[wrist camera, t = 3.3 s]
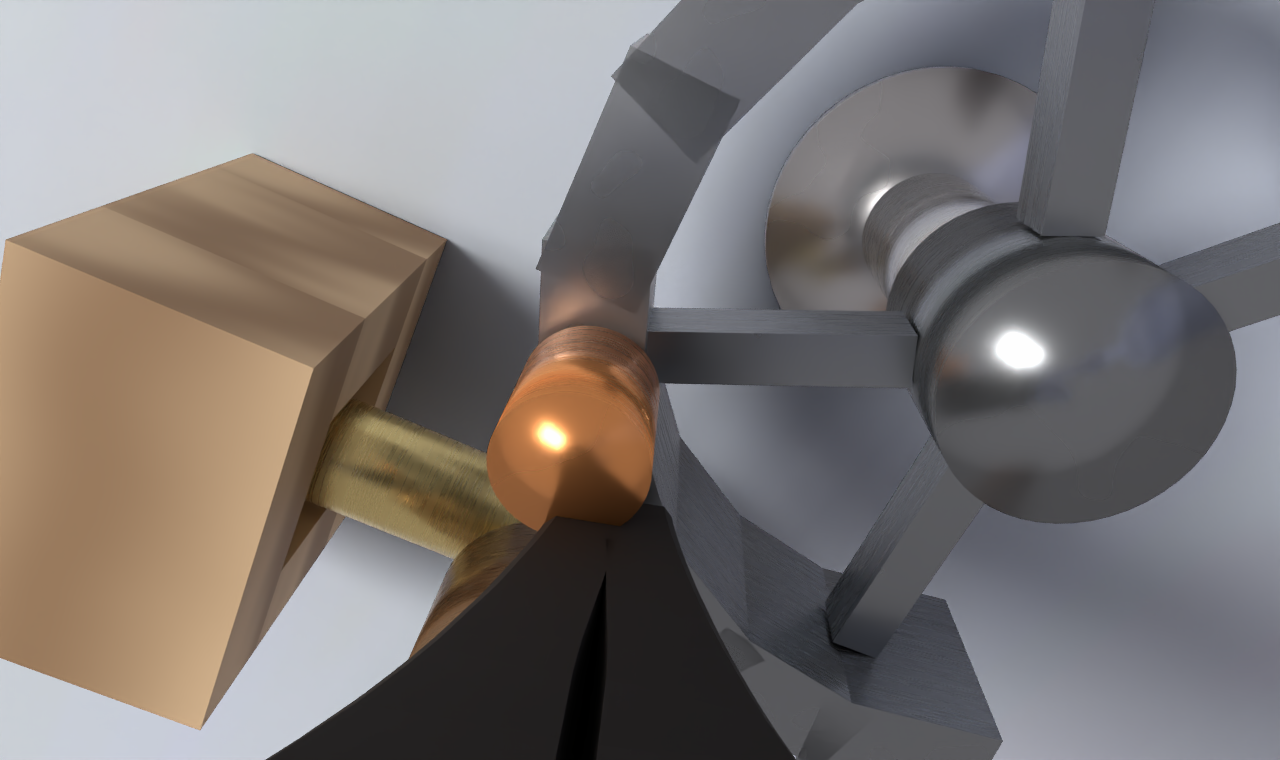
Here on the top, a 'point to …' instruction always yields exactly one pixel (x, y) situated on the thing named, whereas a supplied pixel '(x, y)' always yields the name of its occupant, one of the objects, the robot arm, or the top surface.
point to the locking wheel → (874, 370)
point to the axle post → (890, 181)
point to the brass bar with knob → (419, 500)
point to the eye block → (184, 419)
